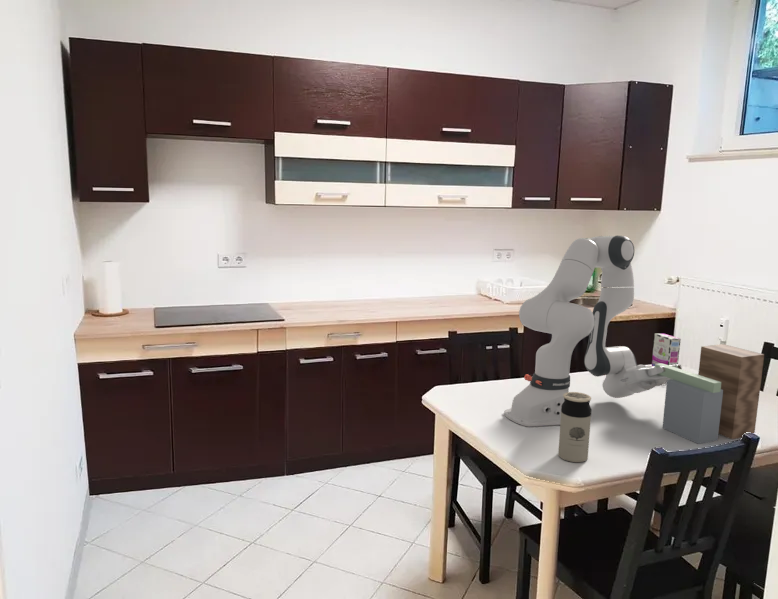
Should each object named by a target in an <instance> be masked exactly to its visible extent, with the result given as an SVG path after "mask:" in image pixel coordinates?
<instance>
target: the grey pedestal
mask: <svg viewBox="0 0 778 599" xmlns="http://www.w3.org/2000/svg"><path fill="white" fill-rule="evenodd" d="M722 397H723V390H722V389H721V391H720V392H716V393H712V392H709V391H706V390H703V389H700V388H697V387H694V386H691V385H688V384H686V383H683V382H680V381H677V380H674V379H671V380H667V381H666V387H665V399H664V408H663V419H662V427H661V428H662V429H663V430H666V431H668V432H671V433H673V434H675V435H677V436H679V437H682V438H684V439H686V440H688V441H690V442H693V443H696V444H697V445H701V444H706V443H710V442H717V441H718V440H719V438H718V437H719V434H718V432H719V423H720V414H721V405H722Z"/></svg>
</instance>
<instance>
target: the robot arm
mask: <svg viewBox="0 0 778 599" xmlns="http://www.w3.org/2000/svg"><path fill="white" fill-rule="evenodd" d="M633 243H634V242H632V240H631V238H629V237H627V236H625V235H611V236H610V235H607V236H606V235H599V236H593V237H589V238H588V237H586V238H585V237H581V238H576V239H575V240H574V241H573V242H572V243H571V244H570V245H569V247H568V249H567V250H566V251H565V254H564V255H563V257H562V259H561V261H560V264H559V266H558V268H557V270H556V273H555V275H554V276H553V278H552V280H551V281H550V282H549V284H548V285H547V286H546V287H545V288H544V289H543V290H542V291H541V292H539V293H538V294H537V295H535V296H533V297H531V298H528V299H526V300H524V302H523V303H522V304H521V306H520V308H519V312H518V317H519V321H520V323H521V325H523V326H524V327H526V328H528V329H530V330H533V331H535V332H536V331H537V332H542V333H545V334H546V333H547V334H551V340H550V342H549V343H545V344H543V345H542V346H540V347H539V348H538V349H537V351H536V353H535V367H534V370H535V371H534V372H533V374H532V375H529V373H528V374H525V375H524V377H523V378H524V380H525V381H527V382H529V384H528V385H527V386H526V387H525V388H523V389H522V390H521V391H520V392H519V393H517V394H516V395H515V396H514V397H513V399H512V404H511V408H508V409H504V412H503V414H504V416H505V417H506V418H507V419H509V420H510V421H512V422H514V423H516V424H518V425H520V426H523V427H529V428H530V427H543V426H559V425H560V421H561V406H562V404H563V403H564V397H563V394H564V393H567V392H570V391H569V388H570V386H571V376H570V370H571V369H570V368H571V362H572V361H571V360H572V355H573V351H574V349H575V348H576V346H577V345H578V343H579V342H580V341H581V340H583V339H585V338H586V337H588V343H587V347H586V351H585V354H584V358H583V363H584V368H586V370H587V372H588V373H590V374H591V375H592V376H594V377H602V376H605V378H604V379H603V381H602V389H603V391H604V393H605V394H606V395H607V396H609V397H611V398H614V399H621V398H626V397H630V396H633V395H635V394H640V393H643V392H647V391H650V390H651V389H654V388H656V387H659V386H662V385H665V384H666V383H667V380H671V378H668V377H665V376H662V375H659V373H663V372H665V367H658V368H656V367H655V366H652V365H644V364H638V363H637V359H636V356H635V354H634V352H633V351H632V350H631V348H629V347H628V346H625V345H622V346H621V345H619V346H618V345H617V346H616V345H615V346H608V347H607V346H606V342H607V340H606V339H607V336H608V335H607V333H608V326H609V324H610V322H611V320H612V319H613V318H615V317H616V316H618V315H620V314H622V313H624V312H625V311H627V310H628V309H629V308H630V307H631V306H632V305H633V302H634V298H635V297H634V296H635V288H634V287H635V283H634V282H635V281H634V272H633V267H632V261H633V259H634V256H635V245H634V244H633ZM596 268H599V269H601V270H600V271H602V272H601V278H600V279H601V281H600V295H599V298H598V301H597V303H596V304H594V307H593V309H591V308H588V307H586V306H583V305H581V304H577V303H573V302H571V301H573V300H575V299H579V298H580V297H582V296H583V295H584V294H585V293H586V291H587V288H588V286H589V283H590V281H591V278H592V277H593V274H594V271H595V269H596ZM669 366H672V367H675V368H679V369H682V370H683V367H682V365H681V364H679V363H678V364H676V365H669Z"/></svg>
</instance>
